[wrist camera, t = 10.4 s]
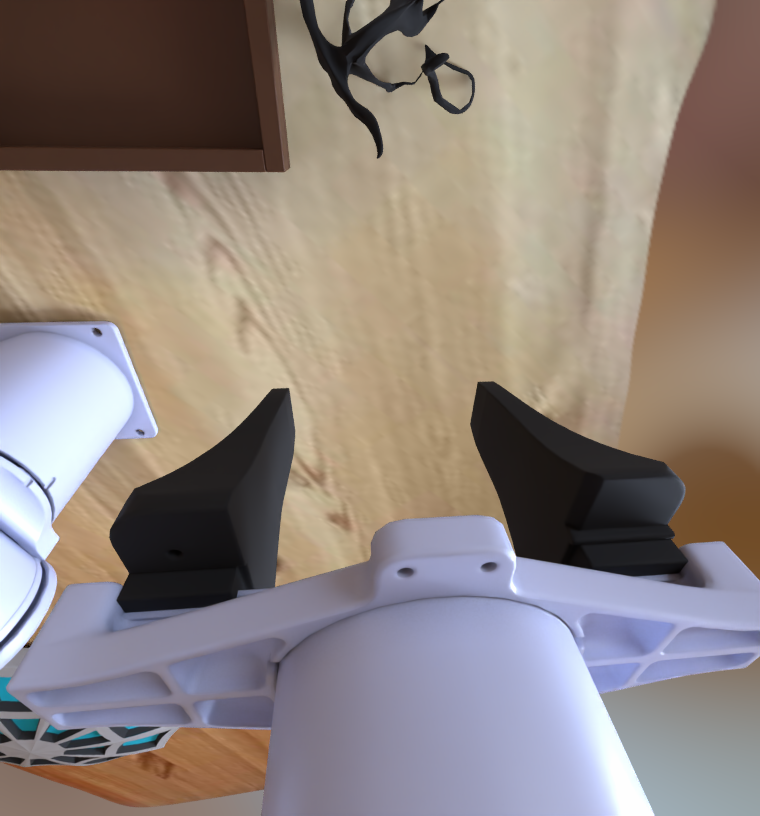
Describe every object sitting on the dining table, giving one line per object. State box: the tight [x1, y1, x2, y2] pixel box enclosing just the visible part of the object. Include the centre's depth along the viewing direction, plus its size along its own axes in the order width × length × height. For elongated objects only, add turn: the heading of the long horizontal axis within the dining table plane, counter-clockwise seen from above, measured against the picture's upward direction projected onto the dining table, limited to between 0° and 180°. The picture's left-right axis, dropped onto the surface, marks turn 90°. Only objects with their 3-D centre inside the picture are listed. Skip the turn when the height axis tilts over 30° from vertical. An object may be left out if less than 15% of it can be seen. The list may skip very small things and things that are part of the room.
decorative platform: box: [0, 648, 180, 767], centre depth 46 cm, size 31×29×5 cm
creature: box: [300, 0, 475, 159], centre depth 14 cm, size 8×5×8 cm
